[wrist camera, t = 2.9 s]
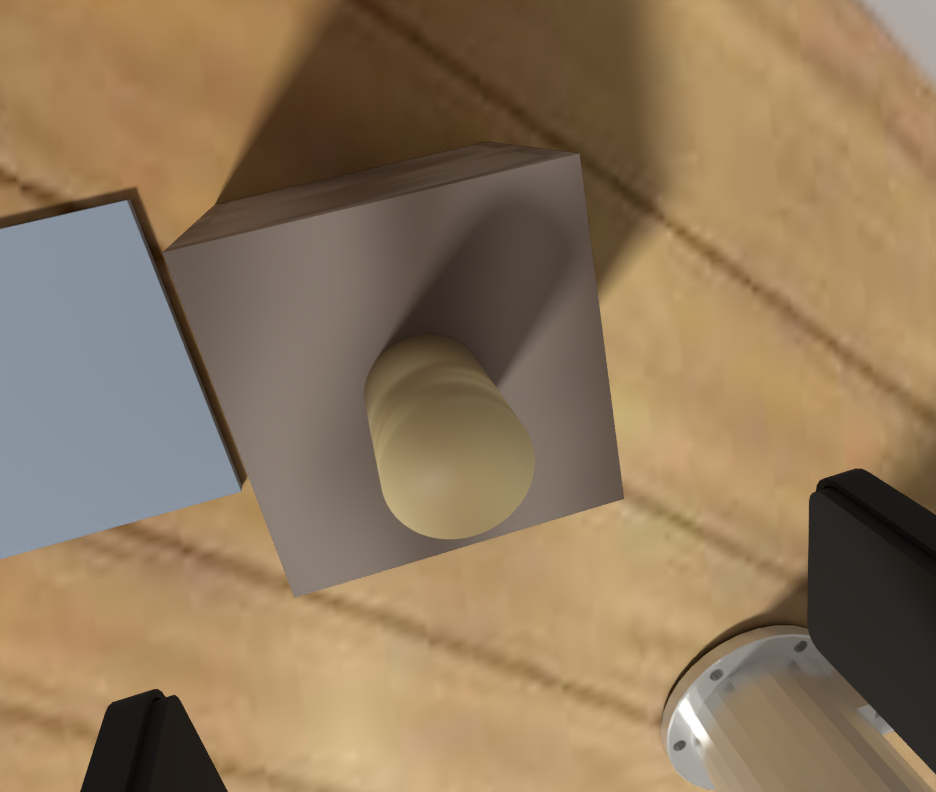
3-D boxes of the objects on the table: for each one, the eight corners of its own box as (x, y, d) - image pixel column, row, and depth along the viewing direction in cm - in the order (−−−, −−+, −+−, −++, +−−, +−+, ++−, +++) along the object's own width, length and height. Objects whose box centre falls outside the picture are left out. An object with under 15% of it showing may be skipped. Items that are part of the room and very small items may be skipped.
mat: (130, 198, 26) (127, 200, 26) (242, 486, 32) (241, 491, 31) (-237, 282, 25) (-247, 285, 25) (-56, 569, 30) (-61, 576, 30)
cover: (487, 141, 28) (665, 164, 14) (532, 387, 33) (700, 590, 19) (214, 204, 27) (111, 299, 13) (299, 451, 32) (290, 721, 17)
